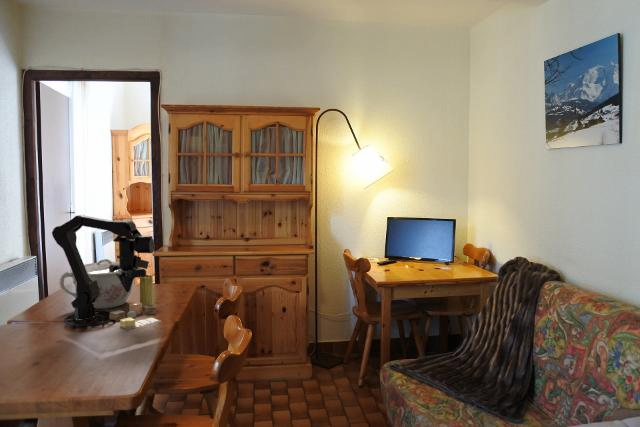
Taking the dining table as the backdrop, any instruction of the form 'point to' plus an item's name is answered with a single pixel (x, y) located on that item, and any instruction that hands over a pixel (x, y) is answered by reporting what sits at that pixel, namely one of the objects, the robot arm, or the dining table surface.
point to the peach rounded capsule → (136, 307)
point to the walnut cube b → (149, 309)
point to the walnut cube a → (117, 315)
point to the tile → (127, 323)
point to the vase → (146, 290)
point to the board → (143, 322)
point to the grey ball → (131, 314)
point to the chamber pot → (102, 285)
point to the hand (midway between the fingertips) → (127, 291)
